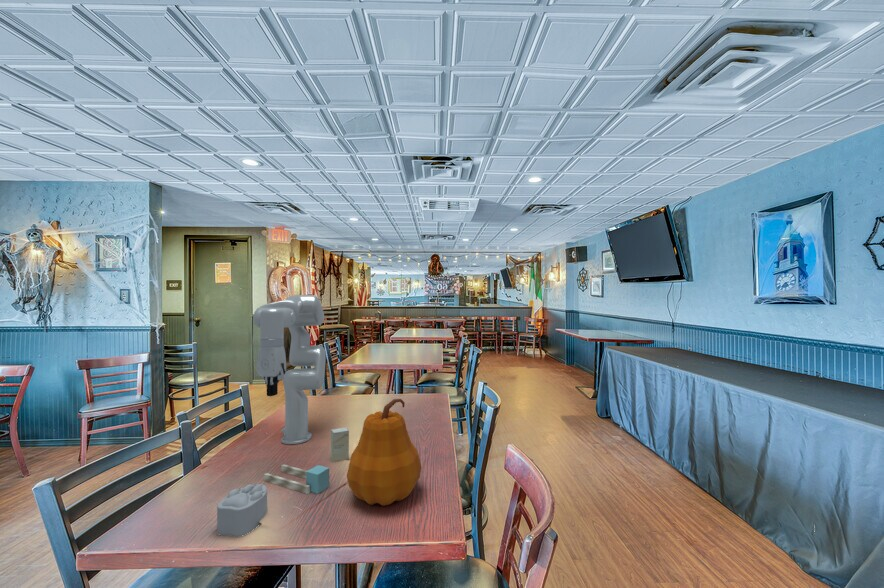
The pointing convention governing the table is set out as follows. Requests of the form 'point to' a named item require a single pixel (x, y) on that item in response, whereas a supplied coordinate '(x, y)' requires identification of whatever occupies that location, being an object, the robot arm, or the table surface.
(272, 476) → the twin rail frame
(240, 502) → the lumpy-topped squat cylinder
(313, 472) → the block
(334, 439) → the skincare box
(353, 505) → the table surface
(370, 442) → the decorative pumpkin
